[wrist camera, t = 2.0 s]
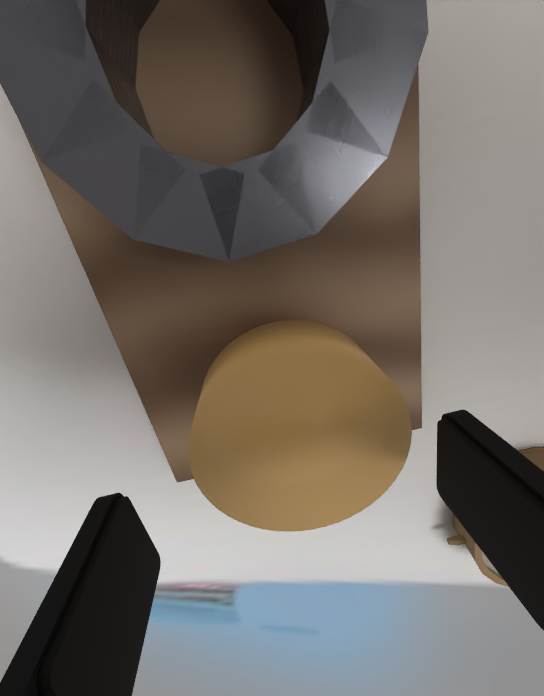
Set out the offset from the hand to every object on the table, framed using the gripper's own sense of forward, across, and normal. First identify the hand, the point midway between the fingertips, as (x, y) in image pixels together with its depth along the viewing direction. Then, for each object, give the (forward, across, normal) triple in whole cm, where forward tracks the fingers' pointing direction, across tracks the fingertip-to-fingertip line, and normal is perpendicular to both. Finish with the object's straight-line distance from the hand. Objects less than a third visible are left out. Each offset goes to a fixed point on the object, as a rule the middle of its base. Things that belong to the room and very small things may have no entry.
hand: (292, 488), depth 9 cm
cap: (+8, -1, 0) cm, 8 cm away
